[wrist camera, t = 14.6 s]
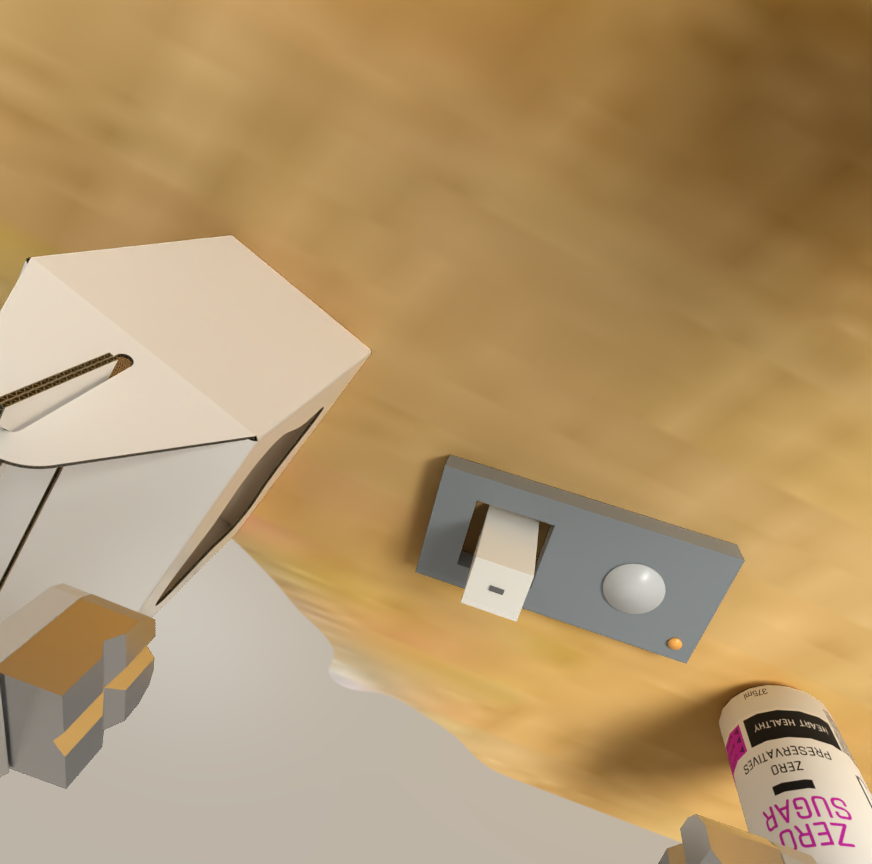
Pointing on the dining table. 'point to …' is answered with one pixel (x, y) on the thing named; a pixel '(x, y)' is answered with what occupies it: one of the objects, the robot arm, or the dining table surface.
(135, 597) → the gable box
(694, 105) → the dining table surface
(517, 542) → the block
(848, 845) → the supplement can
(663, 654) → the power board
